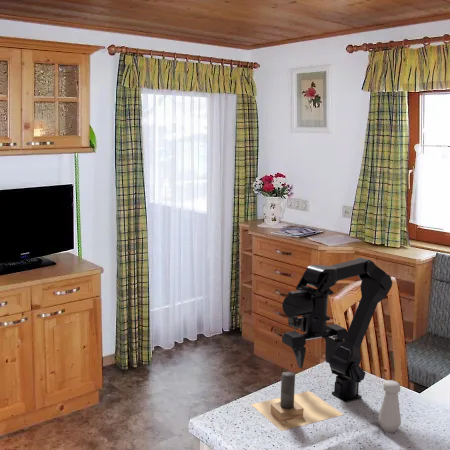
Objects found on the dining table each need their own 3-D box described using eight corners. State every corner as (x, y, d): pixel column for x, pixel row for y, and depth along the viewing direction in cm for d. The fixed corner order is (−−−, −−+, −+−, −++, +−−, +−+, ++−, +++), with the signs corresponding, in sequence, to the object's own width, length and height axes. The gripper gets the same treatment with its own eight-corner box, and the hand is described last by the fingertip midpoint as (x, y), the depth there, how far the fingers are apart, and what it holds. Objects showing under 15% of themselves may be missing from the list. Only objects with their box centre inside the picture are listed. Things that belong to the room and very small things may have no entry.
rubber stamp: (292, 408, 162) (294, 368, 160) (303, 416, 157) (304, 376, 155) (270, 412, 159) (271, 372, 157) (280, 421, 154) (282, 380, 152)
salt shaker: (401, 435, 151) (404, 388, 149) (378, 432, 152) (381, 385, 150) (399, 424, 157) (402, 378, 155) (377, 421, 158) (380, 376, 156)
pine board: (309, 395, 173) (309, 391, 172) (343, 419, 159) (343, 414, 158) (250, 409, 163) (250, 404, 163) (281, 436, 149) (281, 430, 149)
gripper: (325, 299, 171) (323, 350, 174) (272, 307, 163) (270, 360, 165) (350, 310, 162) (347, 363, 164) (294, 319, 153) (292, 375, 156)
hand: (313, 365), depth 163 cm, fingers open, 9 cm apart
